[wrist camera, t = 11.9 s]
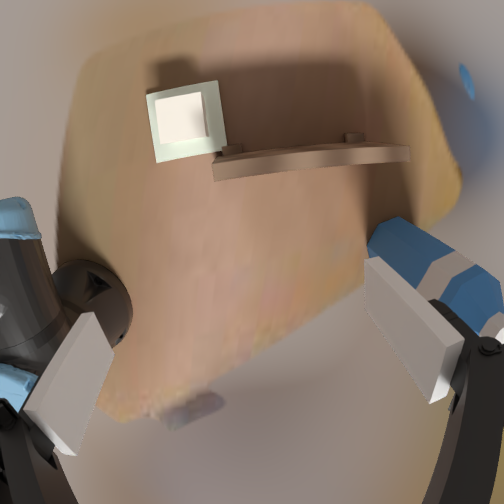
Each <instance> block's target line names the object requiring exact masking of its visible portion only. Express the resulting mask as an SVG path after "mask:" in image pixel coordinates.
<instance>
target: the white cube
mask: <svg viewBox="0 0 504 504" xmlns="http://www.w3.org/2000/svg"><path fill="white" fill-rule="evenodd" d="M155 107H156V116H157V123H158V131H159V138H160V144H167V143H173V142H179V141H184V140H190V139H197V138H203V137H209V131H208V123H207V115H206V107H205V98H204V96H203V95H202V93H201V92H196V93H189V94H183V95H178V96H172V97H167V98H164V99H159V100H155Z"/></svg>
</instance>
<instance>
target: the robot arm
mask: <svg viewBox="0 0 504 504" xmlns="http://www.w3.org/2000/svg"><path fill="white" fill-rule="evenodd" d="M41 238H42V237H41V233H40V232H39V231H38V228H37V225H36V221H35V218H34V214H33V211H32V208H31V206H30V204H29V202H28V201H27V200H25V199H24V198H21V197H12V198H7V199H3V200H0V504H78V502H77V500H76V498H75V496H74V494H73V492H72V490H71V487H70V485H69V483H68V481H67V479H66V476H65V474H64V472H63V469H62V467H61V464H60V462H59V459H58V457H57V455H56V454H55V453H54V452H53V449H54V447H55V446H56V447H57V448H58V449H59V450H60V451H61V452H62V453H63V454H67V455H74V456H77V455H78V452H79V449H80V446H81V443H82V440H83V437H84V434H85V431H86V428H87V425H88V422H89V419H90V417H91V414H92V411H93V409H94V406H95V403H96V401H97V398H98V395H99V393H100V390H101V388H102V385H103V382H104V380H105V377H106V375H107V372H108V370H109V368H110V365H111V363H112V360H113V358H114V356H115V354H114V352H113V350H112V348H113V347H115V346H116V345H117V344H118V343H119V342H121V341H122V340H123V338H124V337H125V335H126V334H127V332H128V329H129V327H130V325H131V322H132V317H133V309H132V304H131V300H130V297H129V295H128V293H127V291H126V289H125V287H124V286H123V284H122V283H121V282H120V281H119V279H118V278H117V277H116V276H115V275H114V274H113V273H111V272H110V271H109V270H107V269H106V268H104V267H103V266H101V265H99V264H97V263H94V262H91V261H87V260H73V261H69V262H67V263H65V264H63V265H62V266H60V267H59V268H58V269H57V270H56V271H55V272H54V273H53V274H51V271H50V268H49V265H48V262H47V259H46V256H45V252H44V249H43V245H42V242H41ZM364 272H365V310H366V312H367V313H368V314H369V316H370V317H371V319H372V320H373V322H374V323H375V324H376V326H377V327H378V329H379V330H380V331H381V333H382V334H383V336H384V337H385V338H386V340H387V341H388V343H389V344H390V346H391V347H392V349H393V350H394V352H395V353H396V355H397V356H398V357H399V359H400V360H401V362H402V363H403V365H404V366H405V368H406V369H407V371H408V372H409V374H410V375H411V377H412V378H413V380H414V381H415V383H416V384H417V386H418V387H419V389H420V390H421V392H422V394H423V395H424V397H425V398H426V400H427V401H428V403H429V404H430V403H432V402H435V401H437V400H439V399H441V398H443V397H445V396H446V395H447V392H448V389H449V387H450V386H451V387H452V388H453V390H454V391H455V394H454V396H453V399H452V401H451V403H450V406H449V408H448V410H450V414H449V419H448V423H447V428H446V431H445V435H444V439H443V443H442V446H441V450H440V454H439V457H438V460H437V463H436V466H435V469H434V472H433V475H432V478H431V481H430V484H429V486H428V489H427V492H426V494H425V497H424V499H423V502H422V504H489V503H490V498H491V495H492V491H493V486H494V481H495V477H496V472H497V466H498V461H499V455H500V448H501V440H502V432H503V427H504V344H501V342H500V341H498V340H497V339H495V338H493V337H489V336H483V337H479V336H478V335H477V334H476V333H475V332H474V331H473V330H472V329H471V328H470V327H469V326H468V325H467V324H466V323H465V322H464V321H463V320H462V319H461V318H459V317H458V315H457V314H456V313H455V312H453V310H451V309H450V308H449V307H448V306H447V305H446V304H445V303H443V302H441V301H439V300H436V299H432V300H429V301H427V300H426V299H425V298H424V297H423V296H421V295H420V294H419V293H418V292H417V291H416V290H415V289H414V288H413V287H412V286H411V285H410V284H409V283H408V282H407V281H406V280H404V279H403V278H402V277H401V276H400V275H399V274H398V273H397V272H396V271H395V270H394V269H392V268H391V267H390V266H389V265H388V264H387V263H386V262H385V261H384V260H382V259H381V258H380V257H379V256H377V257H373V258H369V259H364Z"/></svg>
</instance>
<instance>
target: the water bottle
mask: <svg viewBox="0 0 504 504" xmlns="http://www.w3.org/2000/svg"><path fill="white" fill-rule="evenodd" d="M367 248H368V253H369V258H373V257H377V256H379V257H380V258H381V259H382V260H384V261H385V262H386V263H387V264H388V265H389V266H390V267H391V268H392V269H394V270H395V271H396V272H397V273H398V274H399V275H400V276H401V277H402V278H403V279H404V280H406V281H407V282H408V283H409V284H410V285H411V286H412V287H413V288H414V289H415V290H416V291H417V292H418V293H419V294H420V295H421V296H423V297H424V298H425V299H426V300H427V301H429V300H432V299H436V300H439V301H441V302H443V303H445V304H446V305H447V306H448V307H449V308H450V309H451V310H453V312H455V313H456V314H457V315H458V317H459V318H461V319H462V320H463V321H464V322H465V323H466V324H467V325H468V326H469V327H470V328H471V329H472V330H473V331H474V332H475V333H476V334H477V335H478V336H479V337H483V336H489V337H493V338H495V339H497V340H498V341H500V342H501V344H504V304H503V299H502V292H501V287H500V282H499V281H498V280H497V279H496V278H495V277H493V276H492V275H491V274H489V273H488V272H487V271H486V270H484V269H483V268H481V267H480V266H478V265H477V264H475V263H474V262H472V261H471V260H469V259H468V258H466V257H465V256H463V255H462V254H460V253H459V252H457V251H455V250H454V249H452V248H451V247H449V246H448V245H446V244H444V243H443V242H441V241H440V240H438V239H436V238H435V237H433V236H431V235H430V234H428V233H426V232H425V231H423V230H421V229H420V228H418V227H416V226H415V225H413V224H411V223H409V222H408V221H406V220H404V219H402V218H401V217H399V216H398V217H395V218H393V219H390V220H388V221H385V222H382V223H380V224H378V226H377V228H376V229H375V231H374V233H373V235H372V237H371V239H370V241H369V242H368V244H367Z"/></svg>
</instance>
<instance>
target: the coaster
mask: <svg viewBox="0 0 504 504" xmlns="http://www.w3.org/2000/svg"><path fill="white" fill-rule="evenodd" d="M196 92H201V93H202V95H203V96H204V98H205V107H206V115H207V123H208V131H209V137H203V138H197V139H190V140H184V141H179V142H173V143H167V144H160V138H159V131H158V123H157V116H156V107H155V100H159V99H164V98H167V97H172V96H178V95H183V94H189V93H196ZM146 98H147V105H148V112H149V119H150V125H151V132H152V138H153V144H154V150H155V156H156V161H157V163H158V162H163V161H168V160H173V159H178V158H183V157H188V156H194V155H199V154H205V153H211V152H217V151H222V147H223V146H227V140H226V133H225V127H224V120H223V113H222V106H221V99H220V93H219V86H218V80H216V81H210V82H204V83H198V84H193V85H188V86H183V87H178V88H173V89H169V90H164V91H160V92H156V93H152V94H148V95H146Z"/></svg>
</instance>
